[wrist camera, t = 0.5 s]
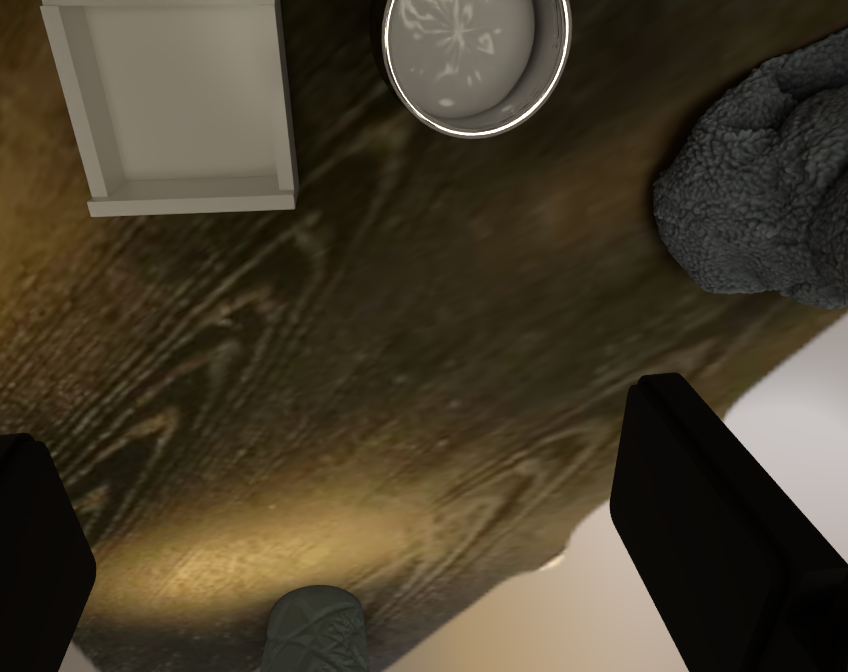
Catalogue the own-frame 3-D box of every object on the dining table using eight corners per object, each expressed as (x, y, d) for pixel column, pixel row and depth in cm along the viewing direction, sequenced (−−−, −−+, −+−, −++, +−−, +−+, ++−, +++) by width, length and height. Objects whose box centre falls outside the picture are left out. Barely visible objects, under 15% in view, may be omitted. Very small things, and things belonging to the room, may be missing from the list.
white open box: (64, -15, 31) (26, -14, 27) (278, -15, 32) (270, -15, 28) (116, 192, 36) (91, 217, 32) (299, 186, 37) (294, 209, 34)
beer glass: (365, 89, 35) (381, 150, 22) (356, -56, 32) (368, -83, 19) (485, 84, 36) (569, 140, 23) (489, -58, 32) (589, -86, 19)
